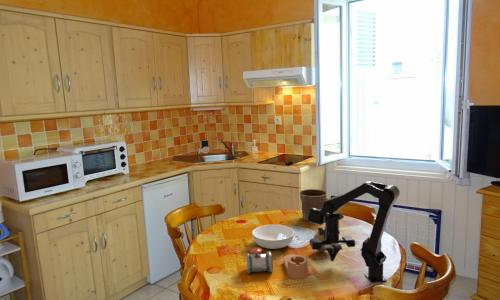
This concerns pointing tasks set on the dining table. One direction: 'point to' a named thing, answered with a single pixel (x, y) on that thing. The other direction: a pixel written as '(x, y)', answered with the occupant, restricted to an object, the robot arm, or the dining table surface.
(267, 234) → the serving bowl
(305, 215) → the plant pot
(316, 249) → the natural sponge
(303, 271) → the brown hollow cylinder
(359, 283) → the dining table surface
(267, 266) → the valve stub
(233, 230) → the dining table surface
